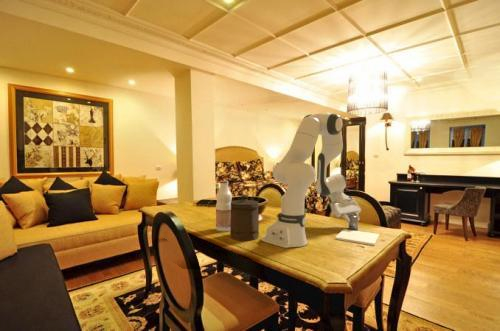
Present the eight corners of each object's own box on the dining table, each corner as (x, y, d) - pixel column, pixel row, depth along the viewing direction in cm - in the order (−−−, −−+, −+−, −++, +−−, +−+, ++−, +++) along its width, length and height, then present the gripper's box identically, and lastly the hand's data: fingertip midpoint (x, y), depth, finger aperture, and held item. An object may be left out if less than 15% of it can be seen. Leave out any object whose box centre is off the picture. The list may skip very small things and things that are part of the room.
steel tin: (347, 230, 143) (347, 216, 143) (349, 228, 148) (349, 214, 147) (356, 231, 141) (357, 217, 141) (358, 229, 145) (358, 215, 145)
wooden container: (247, 230, 142) (247, 192, 141) (264, 237, 130) (264, 195, 130) (225, 235, 133) (225, 194, 133) (240, 242, 121) (240, 197, 121)
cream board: (335, 239, 127) (335, 237, 127) (343, 230, 142) (343, 229, 142) (374, 245, 117) (374, 243, 117) (379, 236, 132) (379, 234, 132)
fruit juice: (221, 232, 138) (221, 182, 137) (212, 229, 145) (212, 180, 144) (235, 229, 144) (235, 181, 143) (226, 226, 151) (226, 180, 150)
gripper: (331, 199, 145) (345, 219, 136) (354, 196, 155) (368, 215, 146) (325, 205, 149) (338, 226, 140) (348, 203, 159) (362, 221, 150)
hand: (354, 220), depth 144 cm, fingers open, 6 cm apart
